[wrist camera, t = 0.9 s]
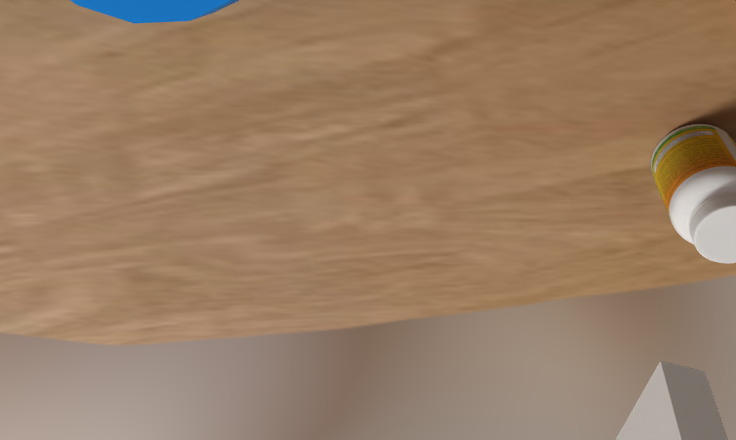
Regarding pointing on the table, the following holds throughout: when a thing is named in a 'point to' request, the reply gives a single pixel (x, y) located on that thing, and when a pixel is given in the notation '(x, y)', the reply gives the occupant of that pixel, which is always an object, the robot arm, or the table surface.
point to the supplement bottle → (700, 187)
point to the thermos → (155, 9)
